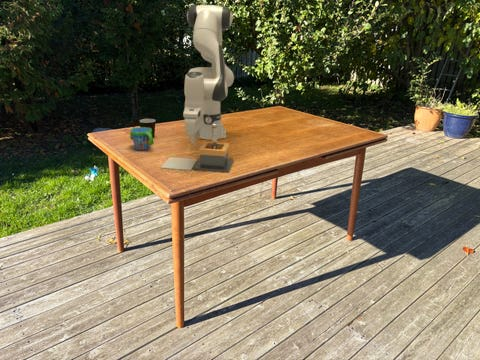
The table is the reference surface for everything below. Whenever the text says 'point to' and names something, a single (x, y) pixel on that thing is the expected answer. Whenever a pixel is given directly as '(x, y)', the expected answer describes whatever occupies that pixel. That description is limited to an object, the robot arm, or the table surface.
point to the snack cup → (142, 138)
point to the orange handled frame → (215, 152)
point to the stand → (214, 158)
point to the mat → (179, 164)
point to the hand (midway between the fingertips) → (195, 140)
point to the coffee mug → (148, 125)
